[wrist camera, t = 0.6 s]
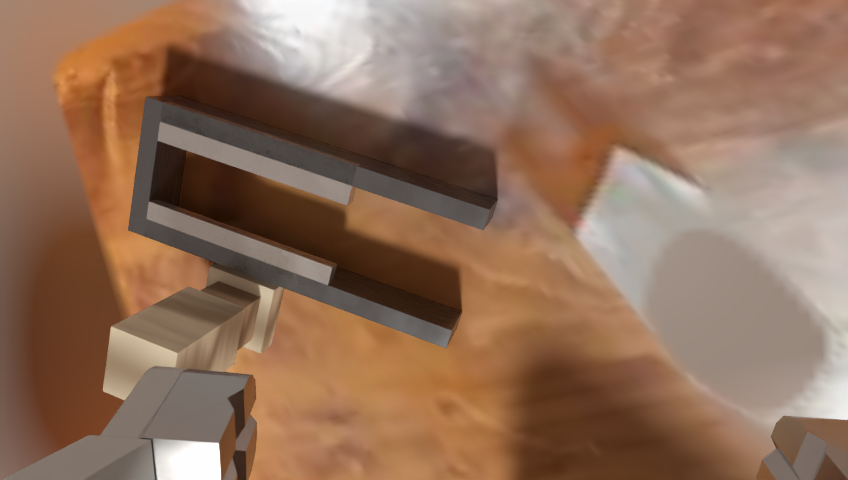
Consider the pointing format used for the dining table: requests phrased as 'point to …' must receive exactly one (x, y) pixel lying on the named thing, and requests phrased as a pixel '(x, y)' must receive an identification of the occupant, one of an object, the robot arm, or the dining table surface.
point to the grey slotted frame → (298, 167)
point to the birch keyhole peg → (194, 329)
